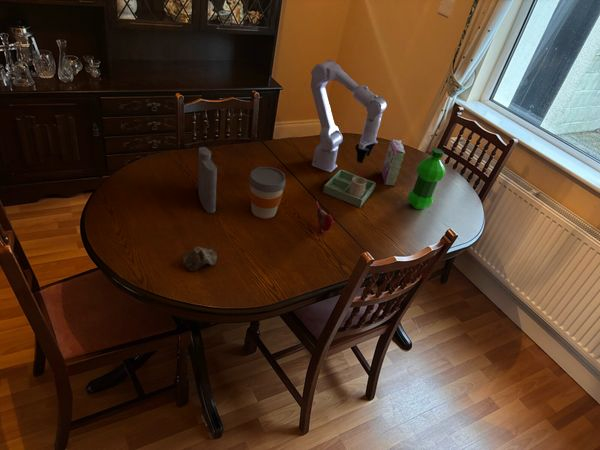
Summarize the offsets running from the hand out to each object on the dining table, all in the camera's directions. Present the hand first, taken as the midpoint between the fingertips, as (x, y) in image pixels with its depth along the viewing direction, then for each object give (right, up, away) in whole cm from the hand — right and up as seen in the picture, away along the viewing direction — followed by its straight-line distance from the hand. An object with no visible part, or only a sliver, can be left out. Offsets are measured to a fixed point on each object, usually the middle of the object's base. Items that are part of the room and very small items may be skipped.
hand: (363, 158), depth 183 cm
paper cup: (-4, -16, -7) cm, 18 cm away
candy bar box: (+12, -7, +11) cm, 18 cm away
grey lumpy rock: (-56, -39, -48) cm, 84 cm away
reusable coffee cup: (-39, -22, -22) cm, 50 cm away
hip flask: (-60, -19, -22) cm, 67 cm away
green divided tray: (-6, -14, -2) cm, 15 cm away
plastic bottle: (+22, -20, -3) cm, 29 cm away
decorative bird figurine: (-19, -29, -25) cm, 42 cm away
